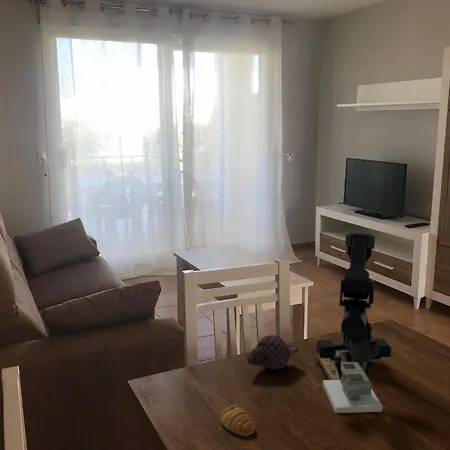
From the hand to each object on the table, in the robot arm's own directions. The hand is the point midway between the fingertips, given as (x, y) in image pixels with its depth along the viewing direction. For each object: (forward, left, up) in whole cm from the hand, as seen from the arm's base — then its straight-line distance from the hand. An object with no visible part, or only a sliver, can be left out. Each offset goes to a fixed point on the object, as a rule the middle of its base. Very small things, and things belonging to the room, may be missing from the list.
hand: (351, 378), depth 138 cm
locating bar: (+1, 0, -1) cm, 1 cm away
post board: (0, 0, -6) cm, 6 cm away
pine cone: (-18, -19, -6) cm, 27 cm away
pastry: (+11, -31, -6) cm, 33 cm away
